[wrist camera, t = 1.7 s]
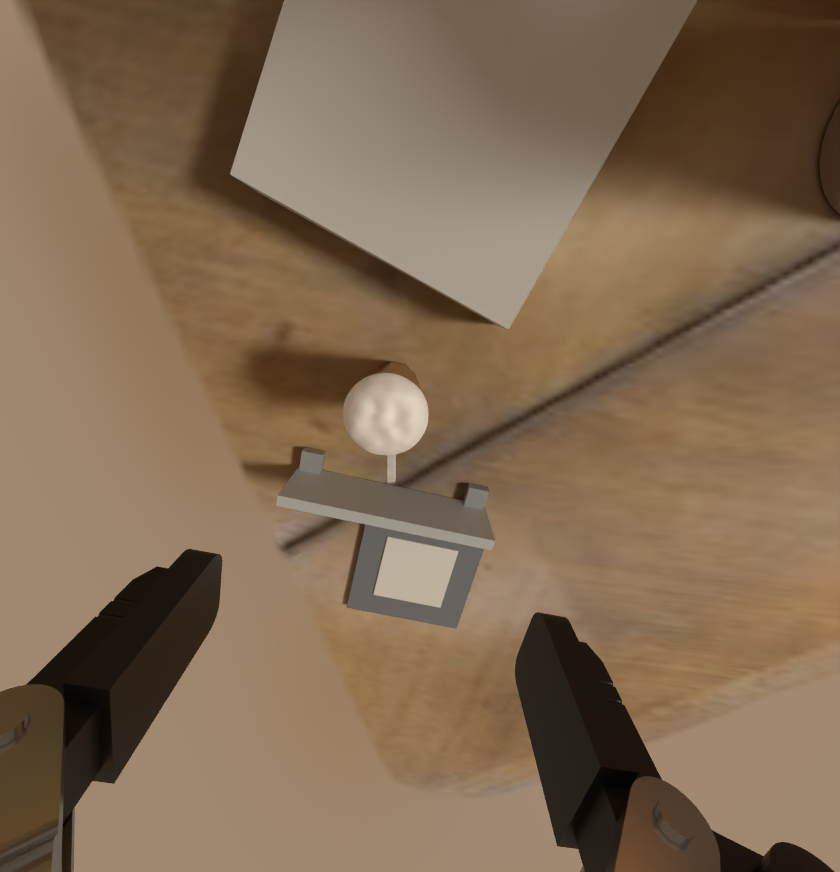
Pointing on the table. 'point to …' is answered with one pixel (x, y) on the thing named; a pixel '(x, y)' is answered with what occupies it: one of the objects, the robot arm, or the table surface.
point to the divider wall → (387, 504)
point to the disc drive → (450, 127)
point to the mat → (412, 576)
